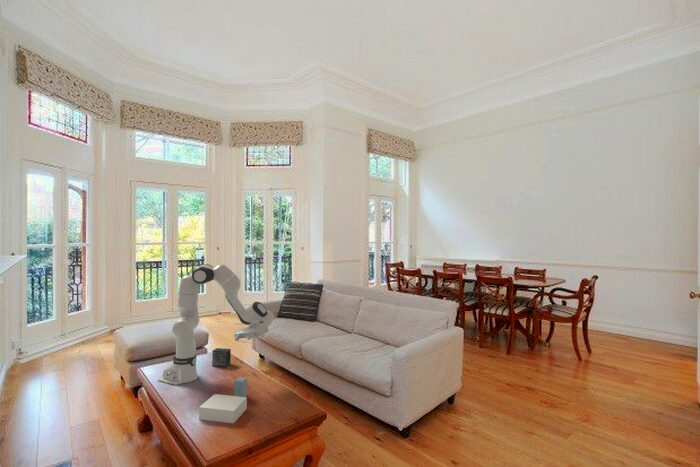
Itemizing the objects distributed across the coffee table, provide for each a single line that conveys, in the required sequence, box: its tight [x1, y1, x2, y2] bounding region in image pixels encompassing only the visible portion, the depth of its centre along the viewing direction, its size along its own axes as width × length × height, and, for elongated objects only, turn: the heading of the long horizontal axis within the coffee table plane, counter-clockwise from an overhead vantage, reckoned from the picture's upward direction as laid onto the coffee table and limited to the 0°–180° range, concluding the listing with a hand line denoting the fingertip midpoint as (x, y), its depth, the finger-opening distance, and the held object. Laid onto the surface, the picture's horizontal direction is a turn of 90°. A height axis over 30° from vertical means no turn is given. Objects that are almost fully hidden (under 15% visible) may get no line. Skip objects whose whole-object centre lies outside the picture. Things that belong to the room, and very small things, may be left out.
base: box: [198, 393, 248, 424], centre depth 176 cm, size 18×14×6 cm
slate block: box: [233, 376, 248, 397], centre depth 194 cm, size 5×5×10 cm
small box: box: [211, 347, 232, 368], centre depth 240 cm, size 11×6×10 cm, turn 84°
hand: (242, 339), depth 204 cm, fingers open, 8 cm apart
